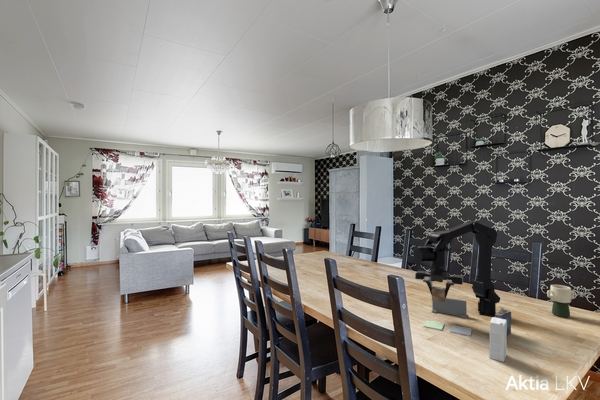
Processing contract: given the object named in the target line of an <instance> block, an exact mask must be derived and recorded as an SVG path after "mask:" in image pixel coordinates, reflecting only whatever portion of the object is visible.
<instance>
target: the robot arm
mask: <svg viewBox="0 0 600 400" xmlns="http://www.w3.org/2000/svg"><path fill="white" fill-rule="evenodd" d="M469 233H472V234H473V235H474V236H475V241H476V243H477V245H478V263H477V264H478V266H477V267H478V269H477V270H478V271H477V277H476V279H472V282H471V283H472V286H471V289H472V292H473V293H474V295H475V298H477V299H479V300H478V301H477V312H478V314H479V315H483V316H489V317H495V314H496V313H497V311H496V308H497V307H496V304H498V303H500V301H501V297H500V296H499V295H498V294H497V293H496V291H495V289H496V288H495V284H494V282H493V281H492V279H491V274H492V253H493V252H492V249H493V246H494V245H495V243H496V242H497V236H498V231H497V230H496V229H495V228H494V227H489V226H486V225H485V224H482V223H480V222H478V221H476V220H475V221H473V220H467V221H465V222H464V223H462V224H459V225H456V226H454V227H451V228H449V229H447V230H441V231H440V230H439V231H435V232H431V233H430V234H429V236H428V239H427V240H426V242H425V244H424V246H417V249H416V250H415V252H414V253H413V254H414V260H415V261H416V263H431V268H430V269H429V270H430V273H428V272H427V271H425V270H417V271H416V273H415V277H414V278H415V279H416V280H421V281H422V282H424V283H426V285H427V287H428V289H429V292H430V294H431V296H432V288H433V282H438V283H443V282H444V281H446V283H445V288H446V290H445V298H448V297H447V296H448V293H449V290H450V288H451V287H452V286H455V285H460V286H462V285H463V283H464V276H463V275H460V274H452V275H451V276H450V275H449V270H447V261H446V260H447V255H446V254H447V253H446V252H451V249H450V248H449V247H448V246H447V245H450V244H451V243H452V241H453V240H455V239H457V238H459V237H461V236H464V235H466V234H469Z"/></svg>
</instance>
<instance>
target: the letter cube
mask: <svg viewBox="0 0 600 400" xmlns="http://www.w3.org/2000/svg"><path fill="white" fill-rule="evenodd" d="M445 290H446V287H443V286H435V285H434V286H433V288H432V295H431V301H432V300H433V301H439V302H445V300H446V298H447V297H446V298H445Z"/></svg>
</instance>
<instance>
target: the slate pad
mask: <svg viewBox="0 0 600 400" xmlns="http://www.w3.org/2000/svg"><path fill="white" fill-rule="evenodd" d="M450 333H451V334H452V333H453V334H458V335H461V336H467V337H471V336H472V328H469V327H464V326H460V325H459V326H458V325H453V324H451V327H450Z"/></svg>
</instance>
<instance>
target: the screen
mask: <svg viewBox="0 0 600 400" xmlns="http://www.w3.org/2000/svg"><path fill="white" fill-rule="evenodd" d="M431 301H432V310H431V313H434V314H437V313H442V314H446V315H447V314H448V315H452V316H459V317H460V318H463V319H467V316H468V313H467V300H465V299H459V298H452V297H451V298H450V297H446V300H445V302H439V301H433V300H432V299H431Z"/></svg>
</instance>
